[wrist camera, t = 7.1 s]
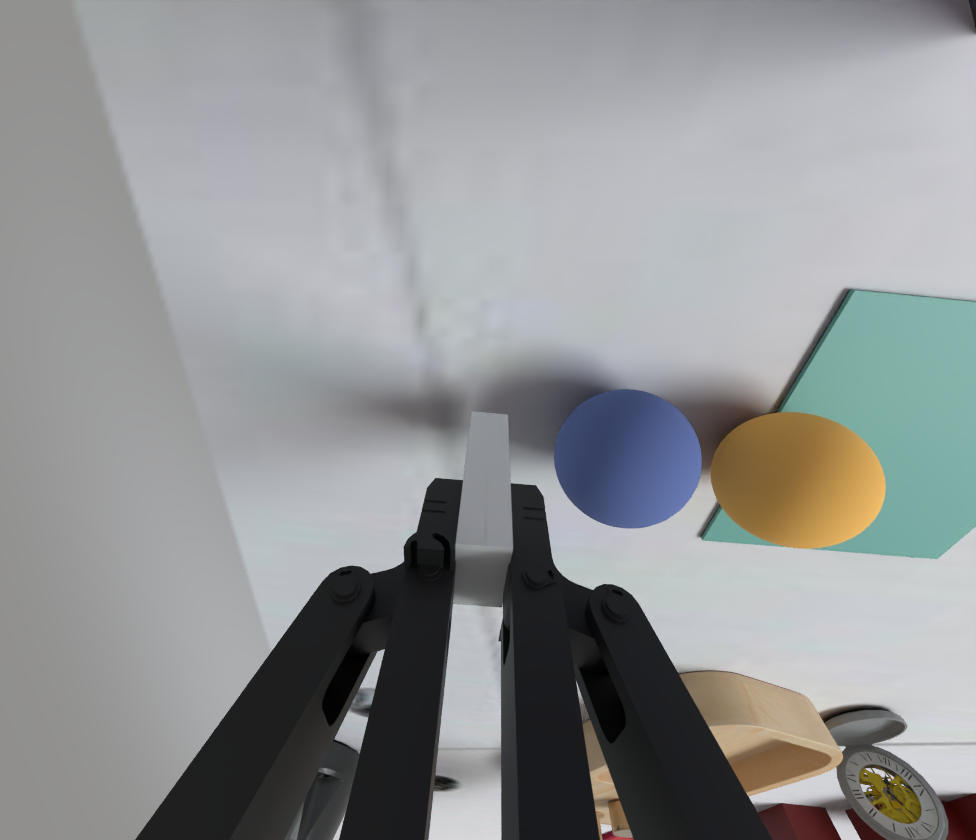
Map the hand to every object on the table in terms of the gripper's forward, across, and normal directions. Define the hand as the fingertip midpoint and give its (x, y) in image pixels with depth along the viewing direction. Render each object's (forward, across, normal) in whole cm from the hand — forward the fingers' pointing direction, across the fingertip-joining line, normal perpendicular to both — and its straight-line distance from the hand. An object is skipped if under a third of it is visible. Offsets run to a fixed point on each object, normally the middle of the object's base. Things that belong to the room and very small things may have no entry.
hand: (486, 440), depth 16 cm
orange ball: (-1, -13, 0) cm, 13 cm away
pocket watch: (+2, -37, +31) cm, 49 cm away
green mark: (+2, -20, 0) cm, 20 cm away
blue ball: (-1, -6, 0) cm, 6 cm away
